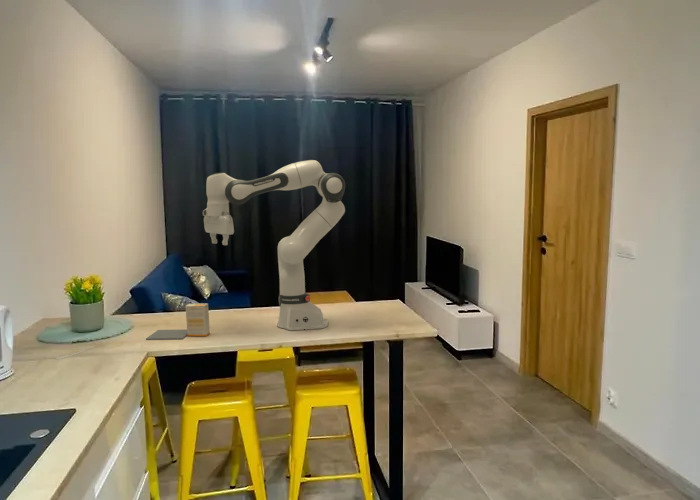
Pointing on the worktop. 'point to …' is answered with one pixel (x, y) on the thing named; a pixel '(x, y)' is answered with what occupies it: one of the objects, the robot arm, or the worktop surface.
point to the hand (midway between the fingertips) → (219, 244)
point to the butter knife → (69, 355)
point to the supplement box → (197, 319)
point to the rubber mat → (168, 335)
